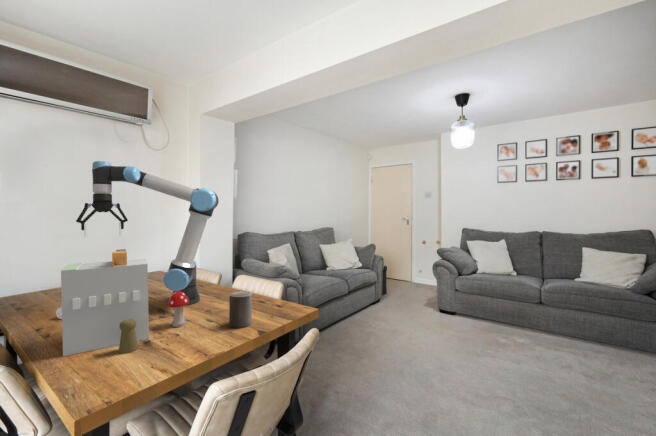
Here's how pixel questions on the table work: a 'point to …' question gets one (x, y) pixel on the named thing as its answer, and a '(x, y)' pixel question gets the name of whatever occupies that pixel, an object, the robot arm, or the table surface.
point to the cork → (128, 336)
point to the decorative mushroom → (178, 307)
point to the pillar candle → (240, 309)
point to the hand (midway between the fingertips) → (103, 236)
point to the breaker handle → (119, 257)
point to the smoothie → (59, 313)
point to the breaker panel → (102, 303)
